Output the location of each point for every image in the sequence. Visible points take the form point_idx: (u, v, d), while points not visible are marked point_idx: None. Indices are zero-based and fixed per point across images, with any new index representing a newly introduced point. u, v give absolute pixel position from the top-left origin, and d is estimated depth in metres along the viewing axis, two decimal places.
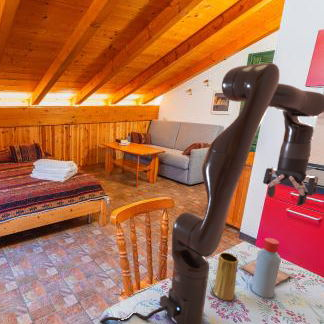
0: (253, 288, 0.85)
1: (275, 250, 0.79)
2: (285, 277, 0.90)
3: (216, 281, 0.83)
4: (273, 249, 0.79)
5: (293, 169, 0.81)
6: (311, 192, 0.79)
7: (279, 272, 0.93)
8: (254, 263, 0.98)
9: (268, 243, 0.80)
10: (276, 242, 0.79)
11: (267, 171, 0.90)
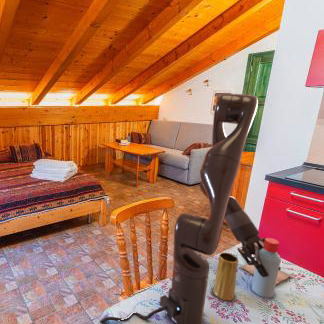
0: (253, 288, 0.85)
1: (275, 250, 0.79)
2: (285, 277, 0.90)
3: (216, 281, 0.83)
4: (273, 249, 0.79)
5: (258, 231, 0.86)
6: None
7: (279, 272, 0.93)
8: None
9: (268, 243, 0.80)
10: (276, 242, 0.79)
11: (246, 249, 0.82)
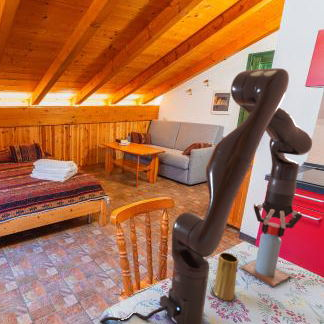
0: (256, 268, 0.94)
1: (276, 233, 0.88)
2: (285, 277, 0.90)
3: (216, 281, 0.83)
4: (275, 232, 0.88)
5: (286, 205, 0.83)
6: (292, 226, 0.85)
7: (279, 272, 0.93)
8: (254, 263, 0.98)
9: (270, 227, 0.89)
10: (277, 226, 0.88)
11: (256, 209, 0.90)
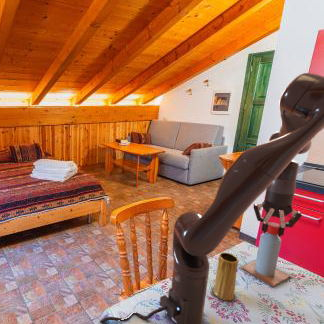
0: (256, 269, 0.94)
1: None
2: (285, 277, 0.90)
3: (216, 281, 0.83)
4: None
5: None
6: None
7: (279, 272, 0.93)
8: (254, 263, 0.98)
9: None
10: (269, 223, 0.90)
11: None
